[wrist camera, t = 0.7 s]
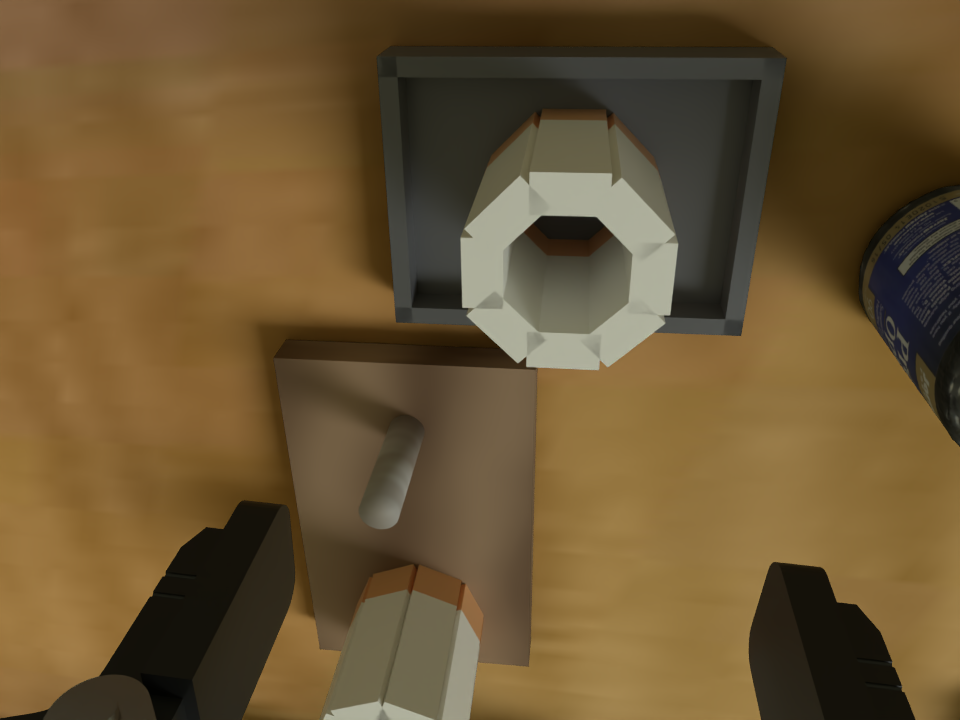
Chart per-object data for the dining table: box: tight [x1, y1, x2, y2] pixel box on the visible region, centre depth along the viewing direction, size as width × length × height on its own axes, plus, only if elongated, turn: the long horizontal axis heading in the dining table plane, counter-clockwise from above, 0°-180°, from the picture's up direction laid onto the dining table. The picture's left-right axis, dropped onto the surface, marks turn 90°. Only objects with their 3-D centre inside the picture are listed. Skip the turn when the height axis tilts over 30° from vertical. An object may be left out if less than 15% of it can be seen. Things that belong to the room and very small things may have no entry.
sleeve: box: [460, 109, 678, 370], centre depth 24 cm, size 6×6×7 cm
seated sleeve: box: [320, 564, 484, 720], centre depth 34 cm, size 6×6×7 cm
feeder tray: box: [377, 46, 787, 336], centre depth 27 cm, size 12×9×2 cm
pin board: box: [273, 340, 537, 667], centre depth 33 cm, size 10×16×6 cm, turn 1°
